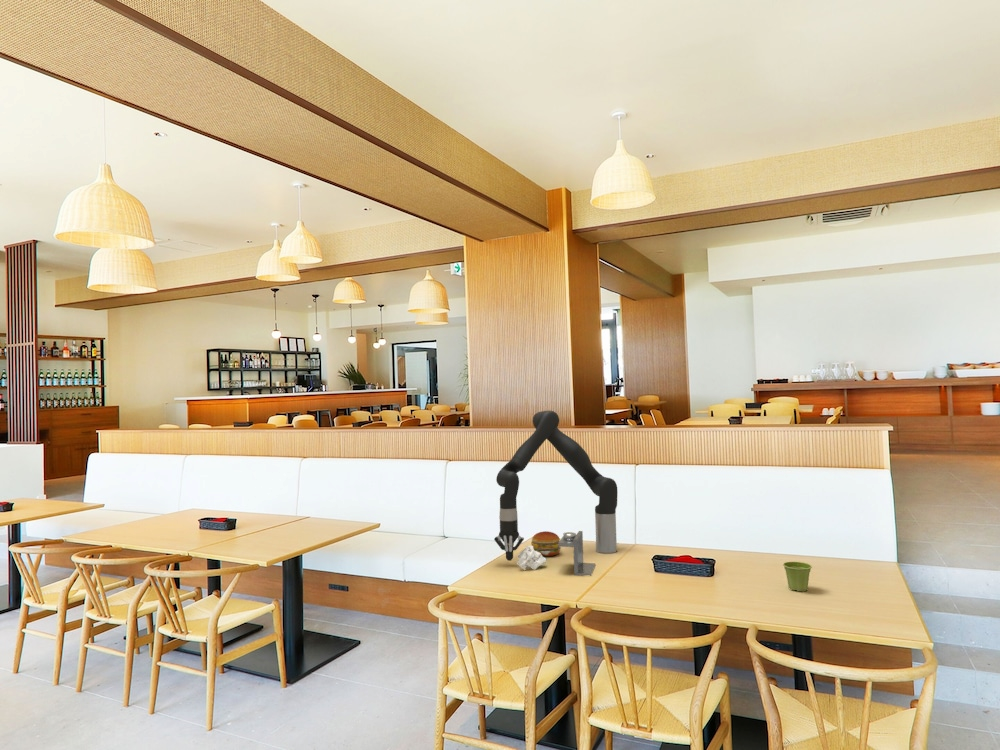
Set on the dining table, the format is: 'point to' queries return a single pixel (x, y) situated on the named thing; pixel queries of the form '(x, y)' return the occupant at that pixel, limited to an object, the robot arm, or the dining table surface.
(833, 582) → the dining table surface
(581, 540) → the bracket
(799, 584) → the plant pot
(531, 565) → the white irregular lump
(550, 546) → the burger
